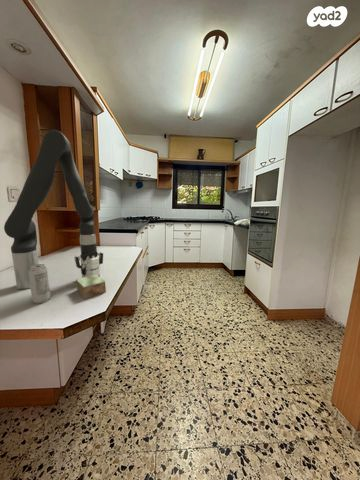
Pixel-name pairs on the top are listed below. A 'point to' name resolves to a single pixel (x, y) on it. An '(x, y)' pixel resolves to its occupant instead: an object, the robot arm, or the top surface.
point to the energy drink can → (39, 283)
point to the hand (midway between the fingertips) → (90, 273)
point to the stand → (90, 286)
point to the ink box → (91, 267)
